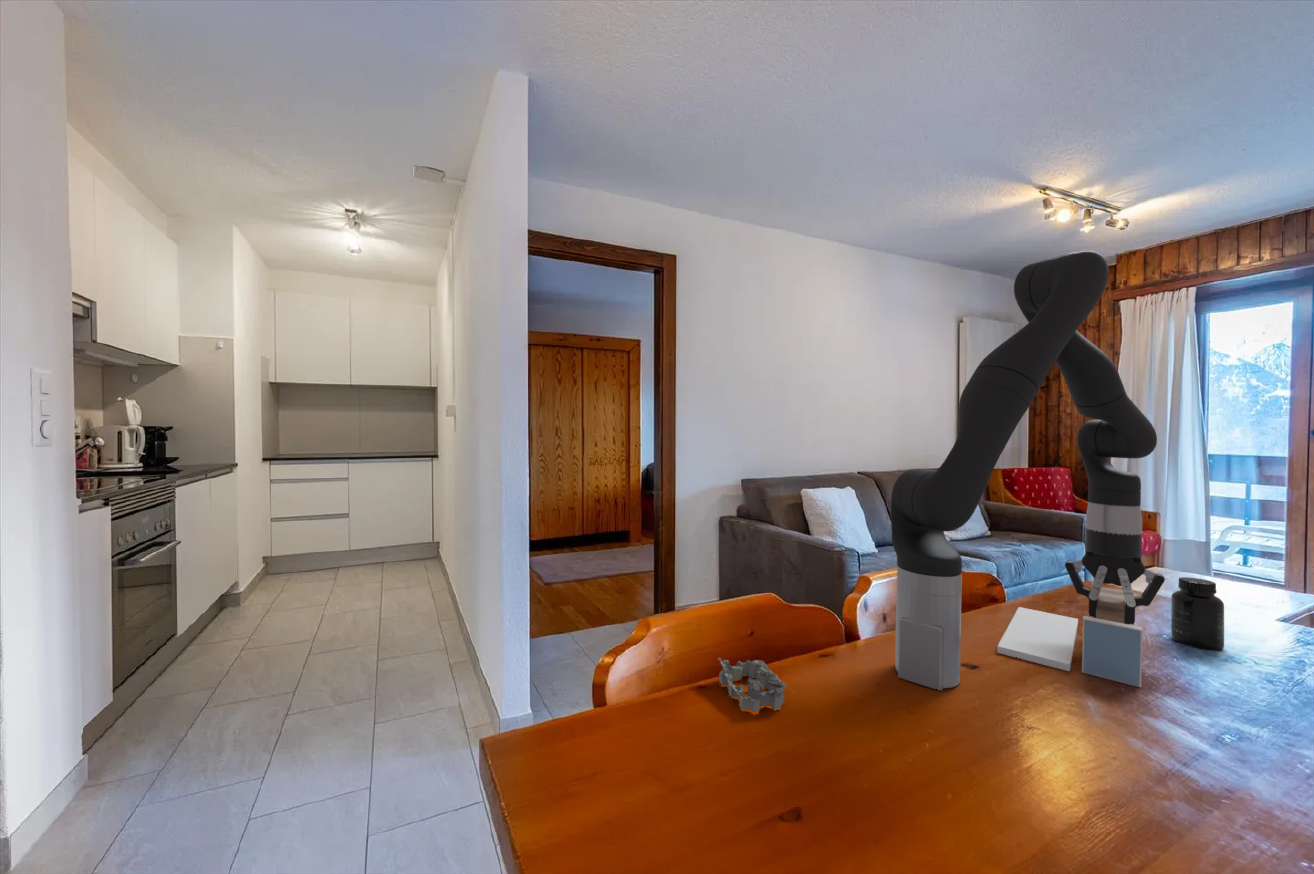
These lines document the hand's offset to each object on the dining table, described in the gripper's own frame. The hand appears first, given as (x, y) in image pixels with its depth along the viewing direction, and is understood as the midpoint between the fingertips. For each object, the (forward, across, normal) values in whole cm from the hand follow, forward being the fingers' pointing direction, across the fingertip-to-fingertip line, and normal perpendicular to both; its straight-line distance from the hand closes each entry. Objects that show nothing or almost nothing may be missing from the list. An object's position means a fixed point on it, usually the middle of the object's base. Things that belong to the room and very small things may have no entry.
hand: (1111, 622), depth 90 cm
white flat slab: (+5, 0, -14) cm, 15 cm away
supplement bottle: (+5, +12, +16) cm, 21 cm away
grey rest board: (+5, -10, -2) cm, 11 cm away
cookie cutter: (+6, -40, -59) cm, 71 cm away
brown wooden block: (+1, 0, 0) cm, 1 cm away
